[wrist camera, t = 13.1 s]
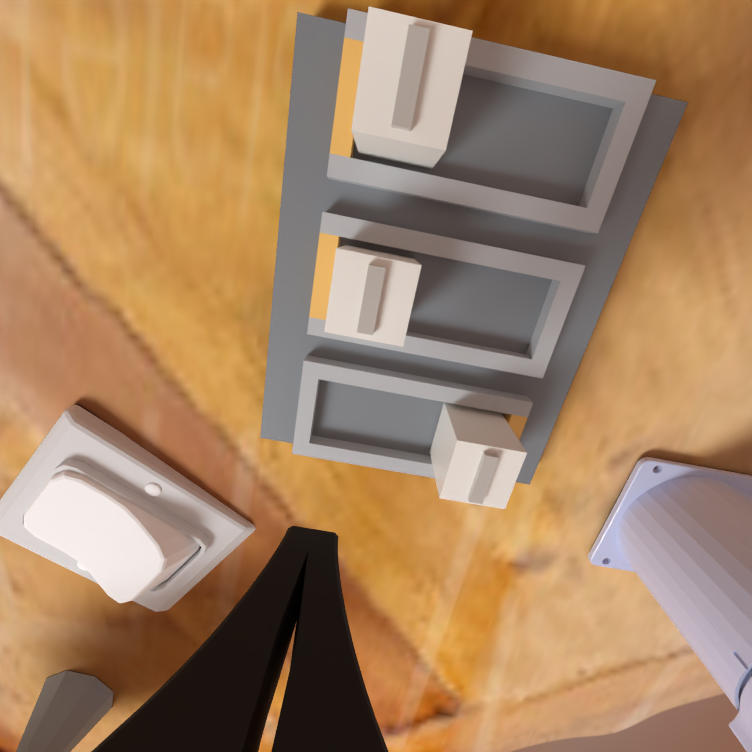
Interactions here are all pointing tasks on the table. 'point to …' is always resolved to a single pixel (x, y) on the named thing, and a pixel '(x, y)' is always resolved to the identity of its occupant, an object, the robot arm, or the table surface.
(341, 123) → the switch unit
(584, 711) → the table surface
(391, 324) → the slider mid
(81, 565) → the light switch
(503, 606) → the table surface
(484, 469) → the slider far
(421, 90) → the slider near
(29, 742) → the jet engine
